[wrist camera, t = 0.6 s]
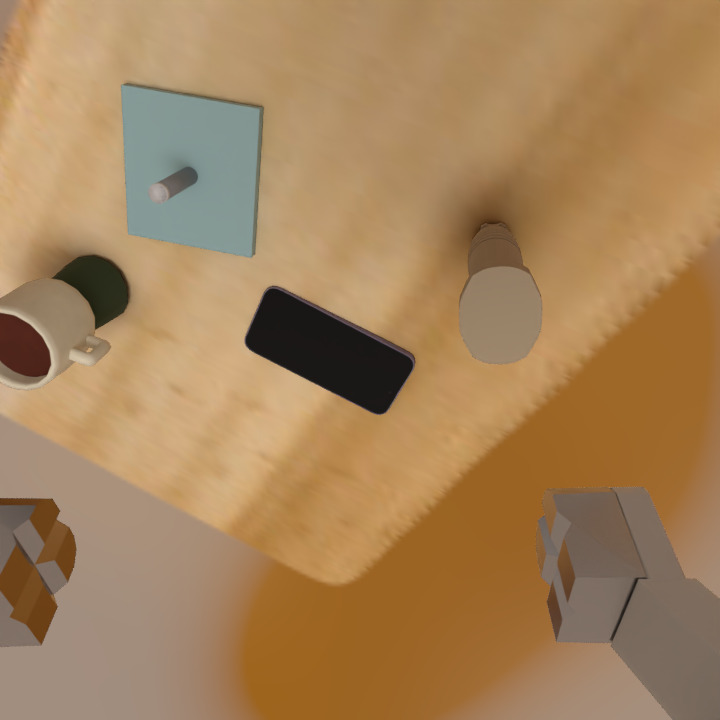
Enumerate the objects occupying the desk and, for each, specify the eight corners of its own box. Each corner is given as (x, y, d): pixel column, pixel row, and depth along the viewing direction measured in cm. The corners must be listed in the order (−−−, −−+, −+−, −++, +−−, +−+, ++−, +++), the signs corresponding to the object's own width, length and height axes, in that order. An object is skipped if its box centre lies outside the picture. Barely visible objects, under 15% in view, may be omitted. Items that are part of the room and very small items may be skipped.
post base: (127, 83, 49) (79, 93, 43) (263, 107, 49) (233, 120, 42) (133, 230, 55) (91, 257, 49) (254, 253, 54) (227, 283, 48)
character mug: (41, 297, 60) (-58, 362, 49) (47, 229, 56) (-59, 283, 45) (149, 338, 60) (75, 412, 49) (162, 274, 57) (85, 338, 46)
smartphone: (268, 282, 55) (419, 360, 56) (272, 278, 56) (420, 354, 57) (240, 346, 59) (383, 419, 60) (245, 341, 60) (384, 412, 61)
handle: (462, 278, 53) (460, 364, 40) (461, 201, 50) (458, 267, 37) (522, 276, 52) (539, 364, 39) (524, 198, 49) (544, 264, 36)
